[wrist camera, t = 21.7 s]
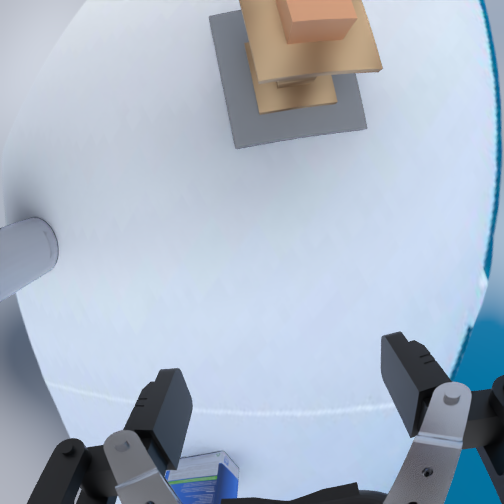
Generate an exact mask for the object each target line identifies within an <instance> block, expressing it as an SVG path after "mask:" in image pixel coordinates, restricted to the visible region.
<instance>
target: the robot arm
mask: <svg viewBox="0 0 504 504" xmlns="http://www.w3.org/2000/svg"><path fill="white" fill-rule="evenodd" d="M57 257H58V245H57V240H56V238H55V235H54V233H53V231H52V229H51V228H50V226H49V225H48V224H47V223H46V222H45V221H43V220H41V219H40V218H36V217H34V218H29V219H26V220H23V221H20V222H17V223H13V224H10V225H7V226H5V227H2V228H0V302H1V301H3V300H5V299H6V298H8V297H9V296H11V295H12V294H14V293H15V292H17V291H19V290H20V289H22V288H23V287H25V286H26V285H28V284H30V283H31V282H33V281H34V280H36V279H38V278H39V277H41V276H42V275H44V274H46V273H47V272H49V271H51V270H52V268H53V267H54V266H55V264H56V261H57ZM381 373H382V378H383V381H384V383H385V385H386V387H387V389H388V391H389V393H390V395H391V397H392V399H393V402H394V404H395V406H396V408H397V410H398V412H399V414H400V416H401V418H402V420H403V423H404V425H405V427H406V429H407V431H408V433H409V436H410V438H412V437H415V438H414V440H413V443H412V445H411V448H410V450H409V452H408V454H407V457H406V459H405V461H404V463H403V465H402V467H401V470H400V472H399V474H398V476H397V478H396V480H395V482H394V484H393V486H392V488H391V490H390V491H389V493H388V494H386V493H382V492H377V491H369V490H359V489H358V485H357V482H355V483H351V484H346V485H342V486H337V487H332V488H326V489H322V490H320V491H317V492H314V493H312V494H309V495H306V496H303V497H300V498H297V499H294V500H291V501H280V500H270V499H262V498H255V497H252V498H227V499H221V504H444V501H445V498H446V496H447V493H448V490H449V487H450V484H451V481H452V478H453V475H454V472H455V469H456V466H457V462H458V459H459V456H460V452H461V449H468V448H475V447H476V449H477V451H478V453H479V455H480V457H481V459H482V461H483V463H484V465H485V467H486V469H487V471H488V474H489V476H490V478H491V480H492V482H493V485H494V487H495V489H496V491H497V494H498V496H499V498H500V500H501V503H502V504H504V375H503V376H500V377H498V378H497V379H496V380H495V381H494V383H493V386H492V389H487V390H481V391H470V390H469V388H468V387H467V386H465V385H463V384H461V383H458V382H452V381H451V380H450V379H449V377H448V376H447V375H446V373H445V372H444V371H443V369H442V368H441V367H440V365H439V364H438V363H437V361H435V359H434V357H433V356H432V355H430V352H429V351H428V350H427V348H426V347H425V346H424V345H422V344H420V343H419V342H417V341H415V340H413V341H410V342H408V340H407V339H406V338H405V336H404V335H403V334H402V332H396V333H392V334H388V335H384V336H382V338H381ZM192 407H193V405H192V398H191V395H190V393H189V390H188V388H187V385H186V382H185V380H184V377H183V375H182V372H181V370H180V369H179V368H174V369H161V370H160V371H159V373H158V375H157V378H156V380H155V382H150V383H149V384H148V385H147V386H146V387H145V388H144V389H142V391H141V393H140V396H139V398H138V400H137V402H136V404H135V407H134V408H133V410H132V412H131V415H130V417H129V419H128V421H127V423H126V425H125V427H124V429H123V430H121V431H118V432H115V433H113V434H112V435H110V436H109V437H108V438H107V439H106V441H105V443H104V445H100V446H94V447H87V448H86V446H85V445H84V444H83V442H82V441H81V440H79V439H75V438H71V439H67V440H64V441H62V442H61V443H59V445H57V447H56V448H55V450H54V451H53V453H52V455H51V457H50V459H49V461H48V463H47V465H46V467H45V469H44V470H43V472H42V474H41V476H40V478H39V480H38V482H37V484H36V486H35V488H34V490H33V492H32V494H31V496H30V498H29V500H28V503H27V504H74V500H75V497H76V495H77V492H78V490H79V487H80V488H81V489H82V490H81V493H80V495H79V498H78V500H77V503H76V504H115V502H116V498H117V496H119V498H120V501H121V503H122V504H183V503H182V502H181V500H180V499H179V497H178V496H177V494H176V493H175V491H174V490H173V488H172V487H171V485H170V484H169V482H168V481H167V479H166V478H165V473H166V470H177V468H178V464H179V460H180V456H181V452H182V448H183V444H184V440H185V436H186V433H187V429H188V425H189V421H190V417H191V413H192Z"/></svg>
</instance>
